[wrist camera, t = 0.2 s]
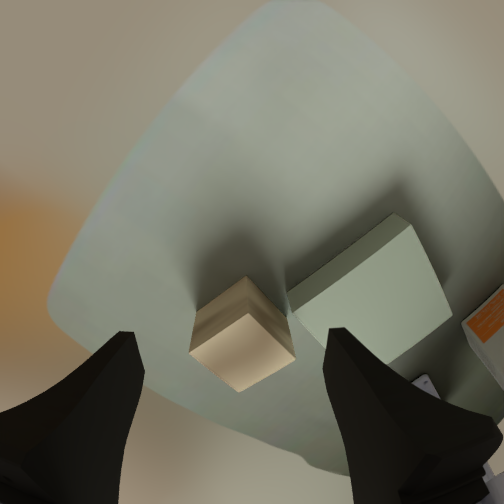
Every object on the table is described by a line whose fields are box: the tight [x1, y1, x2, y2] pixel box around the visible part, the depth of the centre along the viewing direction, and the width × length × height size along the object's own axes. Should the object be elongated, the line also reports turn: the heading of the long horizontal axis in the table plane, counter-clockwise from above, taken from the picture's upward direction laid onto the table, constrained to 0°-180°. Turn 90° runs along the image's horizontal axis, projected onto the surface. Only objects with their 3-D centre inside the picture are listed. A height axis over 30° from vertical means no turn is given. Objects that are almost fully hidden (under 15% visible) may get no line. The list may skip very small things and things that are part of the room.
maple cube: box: [189, 275, 296, 392], centre depth 20 cm, size 4×4×4 cm
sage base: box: [287, 213, 453, 365], centre depth 21 cm, size 9×9×2 cm
